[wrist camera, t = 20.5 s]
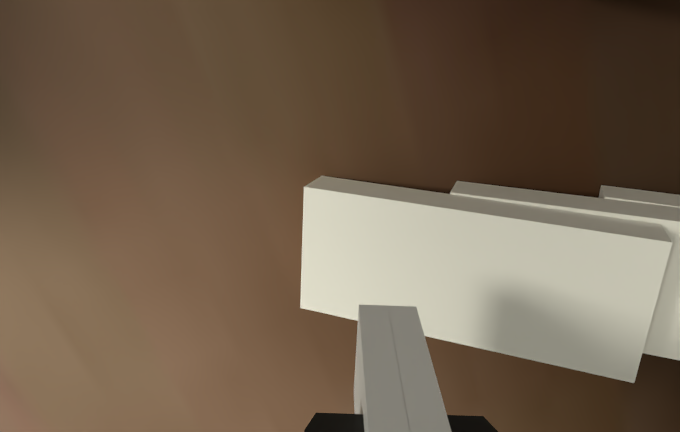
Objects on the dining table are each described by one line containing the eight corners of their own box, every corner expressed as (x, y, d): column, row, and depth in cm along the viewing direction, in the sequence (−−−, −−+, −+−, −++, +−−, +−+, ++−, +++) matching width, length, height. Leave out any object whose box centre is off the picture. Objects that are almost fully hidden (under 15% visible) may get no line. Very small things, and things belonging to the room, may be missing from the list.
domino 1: (300, 307, 21) (634, 383, 18) (303, 186, 20) (672, 242, 16) (317, 288, 23) (626, 353, 19) (322, 175, 21) (660, 223, 18)
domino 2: (437, 312, 22) (798, 383, 18) (450, 192, 20) (851, 243, 16) (444, 293, 23) (777, 354, 20) (457, 180, 22) (822, 224, 18)
